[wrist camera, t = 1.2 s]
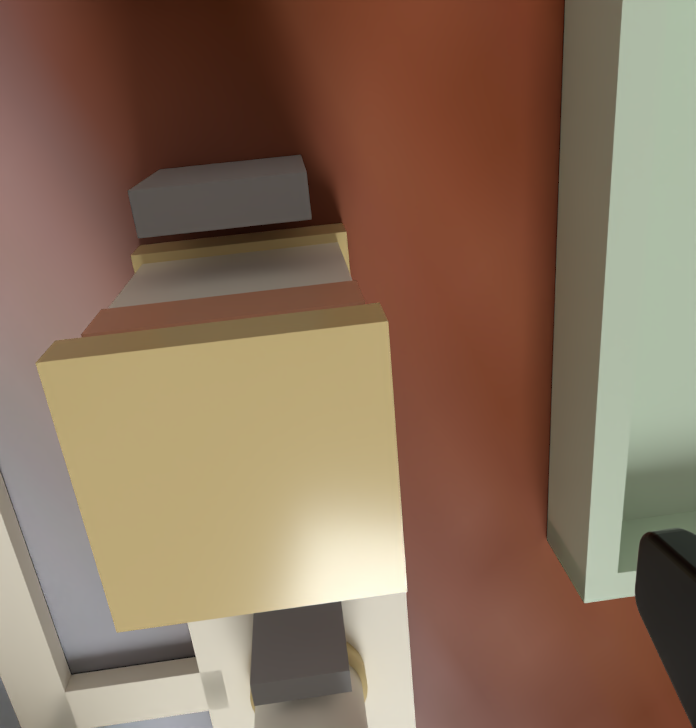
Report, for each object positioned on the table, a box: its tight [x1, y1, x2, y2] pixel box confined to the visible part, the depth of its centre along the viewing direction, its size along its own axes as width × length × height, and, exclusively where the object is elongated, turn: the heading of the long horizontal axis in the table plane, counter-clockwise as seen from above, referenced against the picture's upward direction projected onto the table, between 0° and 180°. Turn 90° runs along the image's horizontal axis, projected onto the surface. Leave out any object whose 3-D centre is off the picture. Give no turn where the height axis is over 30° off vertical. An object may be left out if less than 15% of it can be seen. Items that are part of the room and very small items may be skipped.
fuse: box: [36, 223, 407, 632], centre depth 12 cm, size 4×4×7 cm
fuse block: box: [0, 155, 416, 728], centre depth 13 cm, size 11×27×6 cm, turn 5°
